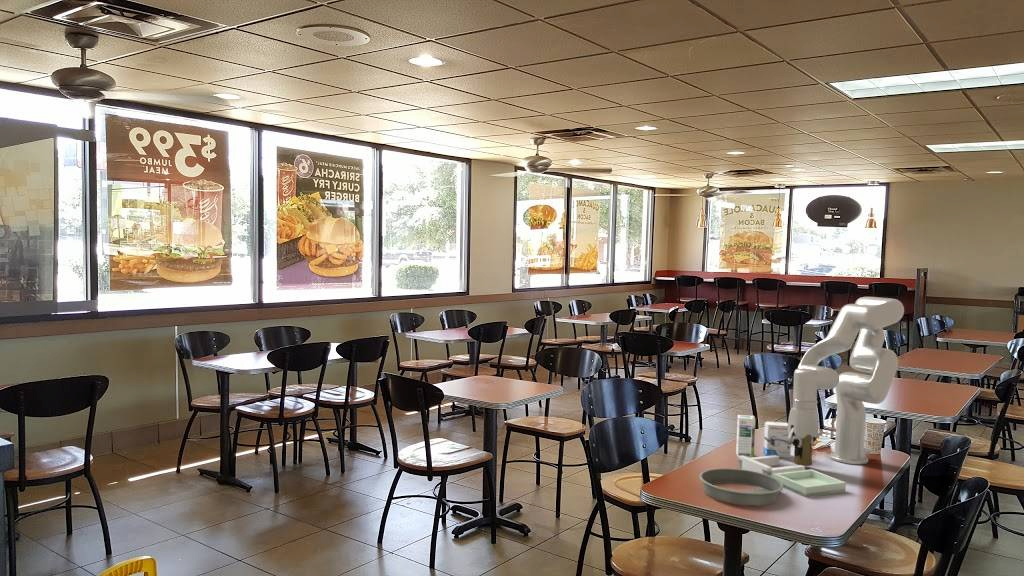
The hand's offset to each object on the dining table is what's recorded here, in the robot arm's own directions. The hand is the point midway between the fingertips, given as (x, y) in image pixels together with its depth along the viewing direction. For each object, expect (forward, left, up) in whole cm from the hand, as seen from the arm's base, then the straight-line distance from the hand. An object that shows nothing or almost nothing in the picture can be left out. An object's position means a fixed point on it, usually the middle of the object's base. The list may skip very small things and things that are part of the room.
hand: (802, 456), depth 252 cm
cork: (0, 0, -3) cm, 3 cm away
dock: (+13, 0, -4) cm, 13 cm away
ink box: (-2, -15, -4) cm, 16 cm away
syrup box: (+10, -18, -4) cm, 21 cm away
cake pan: (+39, +15, -4) cm, 42 cm away
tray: (+14, +17, -4) cm, 22 cm away
